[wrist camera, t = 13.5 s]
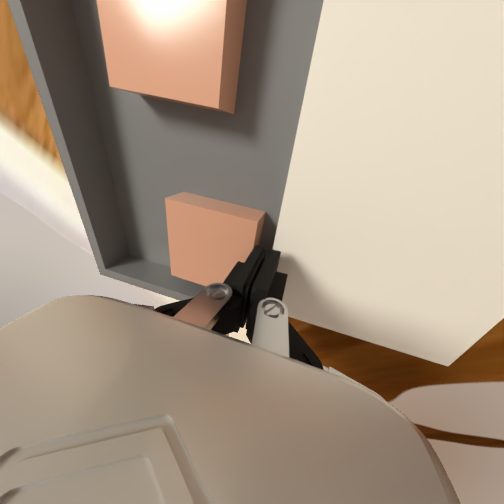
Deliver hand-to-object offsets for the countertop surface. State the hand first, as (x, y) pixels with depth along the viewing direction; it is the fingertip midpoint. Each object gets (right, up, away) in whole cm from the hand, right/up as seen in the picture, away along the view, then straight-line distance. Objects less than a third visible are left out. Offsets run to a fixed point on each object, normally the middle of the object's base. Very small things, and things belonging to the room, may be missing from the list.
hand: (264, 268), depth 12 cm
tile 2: (-3, +2, +2) cm, 4 cm away
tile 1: (-4, +12, -3) cm, 13 cm away
